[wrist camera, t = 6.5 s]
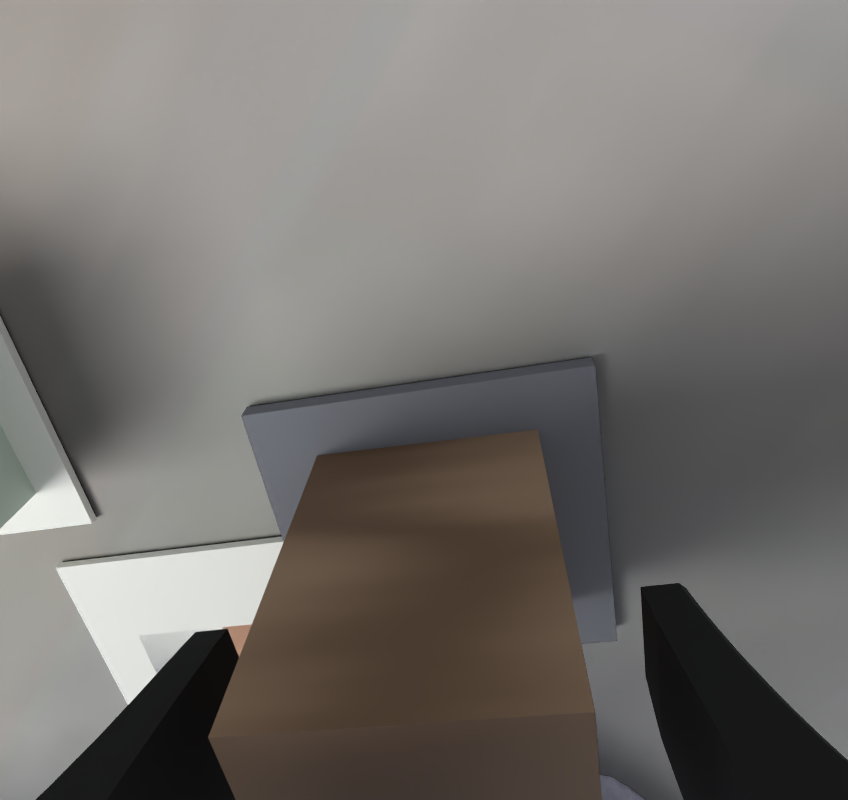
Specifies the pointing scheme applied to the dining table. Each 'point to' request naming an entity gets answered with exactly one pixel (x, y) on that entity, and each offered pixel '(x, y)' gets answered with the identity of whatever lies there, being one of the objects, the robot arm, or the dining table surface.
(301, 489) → the charcoal mat
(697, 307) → the dining table surface
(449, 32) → the dining table surface
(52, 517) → the tile
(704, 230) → the dining table surface
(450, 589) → the walnut block
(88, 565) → the cream tile
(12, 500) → the sage block
